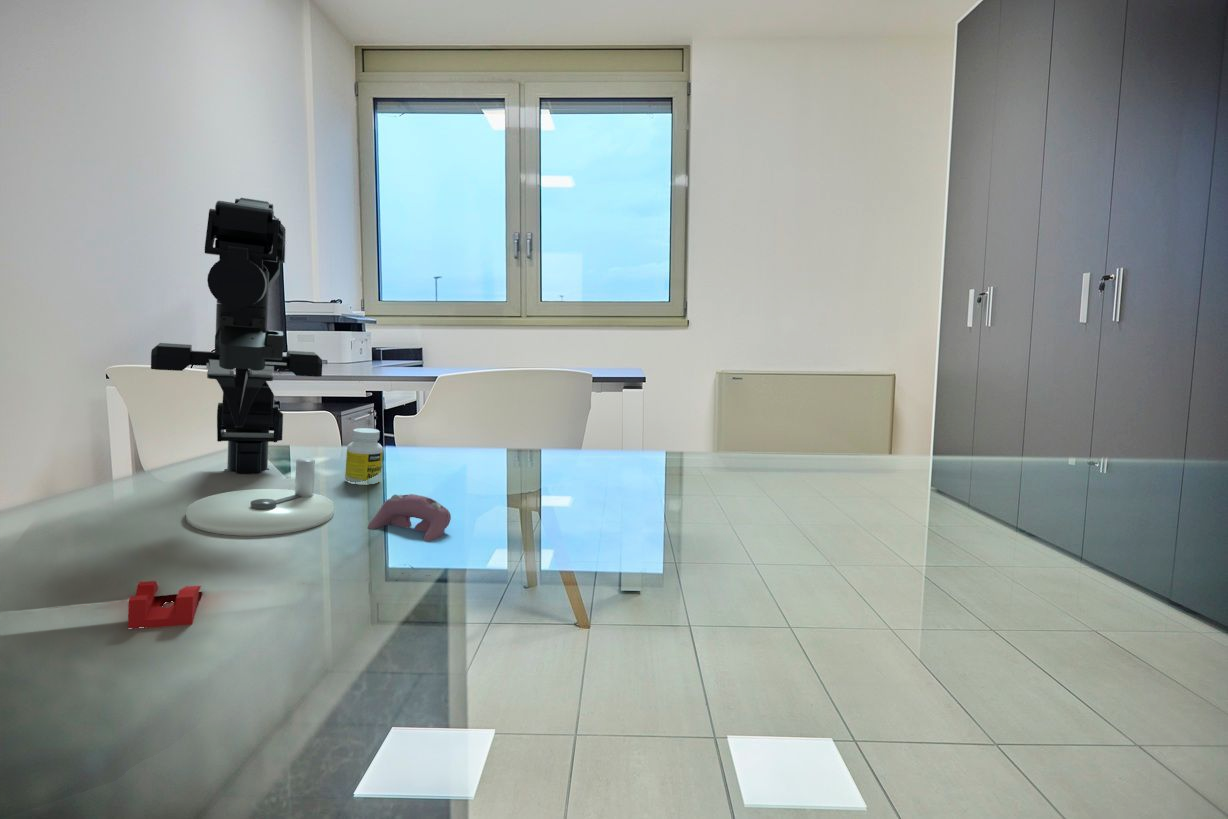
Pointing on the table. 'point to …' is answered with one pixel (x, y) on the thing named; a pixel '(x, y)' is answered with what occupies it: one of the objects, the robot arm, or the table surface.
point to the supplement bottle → (363, 455)
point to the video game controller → (413, 515)
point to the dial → (264, 508)
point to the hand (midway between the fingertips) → (238, 426)
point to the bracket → (152, 614)
